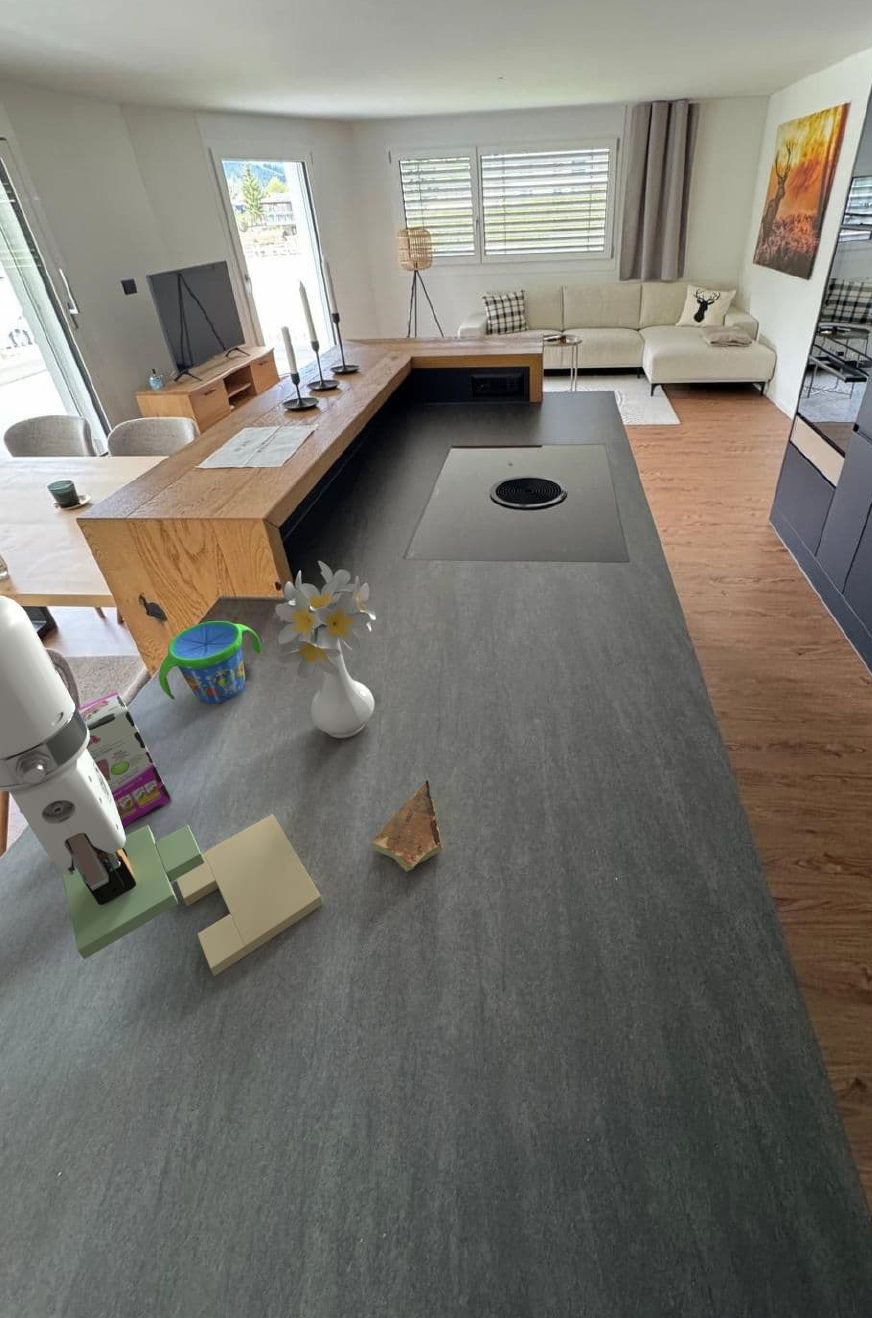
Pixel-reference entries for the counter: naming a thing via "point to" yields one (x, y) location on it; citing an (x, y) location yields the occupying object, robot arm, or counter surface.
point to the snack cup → (209, 660)
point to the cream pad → (250, 891)
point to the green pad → (143, 902)
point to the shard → (411, 831)
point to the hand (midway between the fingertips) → (113, 877)
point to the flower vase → (329, 647)
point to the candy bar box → (123, 758)
